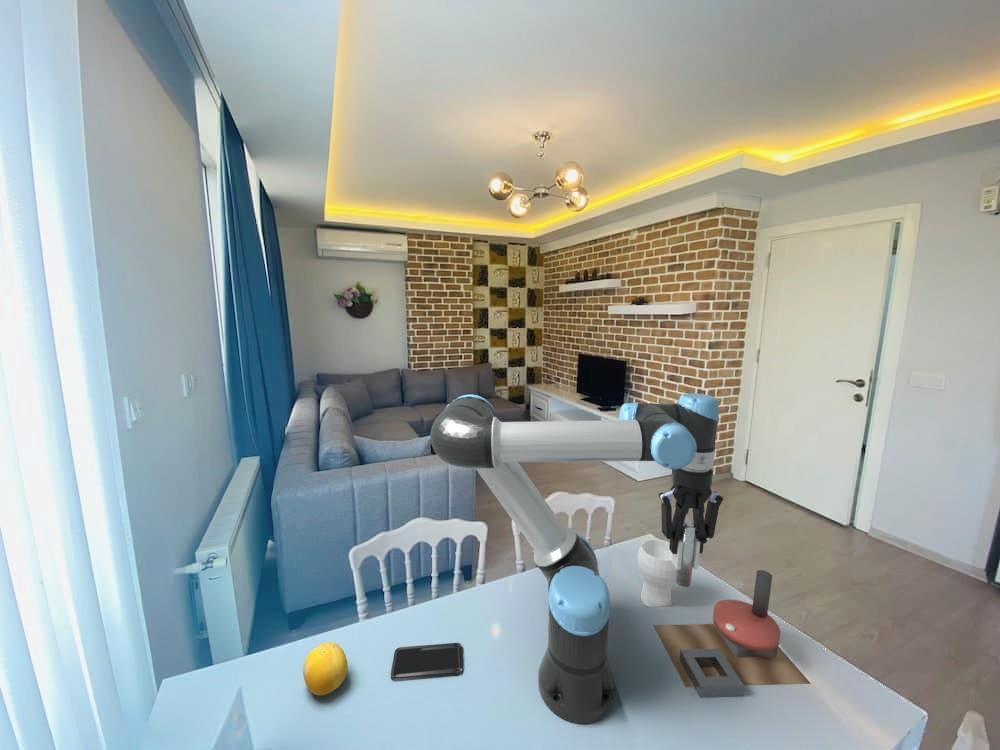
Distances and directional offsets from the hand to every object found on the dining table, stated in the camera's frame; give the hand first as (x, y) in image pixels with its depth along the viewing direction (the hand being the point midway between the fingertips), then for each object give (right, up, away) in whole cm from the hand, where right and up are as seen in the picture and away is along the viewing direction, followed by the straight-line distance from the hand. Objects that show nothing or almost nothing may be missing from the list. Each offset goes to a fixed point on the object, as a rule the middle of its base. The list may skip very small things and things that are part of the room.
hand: (684, 565), depth 90 cm
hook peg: (0, -4, +1) cm, 4 cm away
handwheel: (+15, -15, +2) cm, 21 cm away
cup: (0, -18, +17) cm, 25 cm away
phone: (-57, -21, -2) cm, 61 cm away
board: (+9, -21, 0) cm, 22 cm away
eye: (+2, -20, -7) cm, 21 cm away
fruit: (-77, -21, -7) cm, 80 cm away
